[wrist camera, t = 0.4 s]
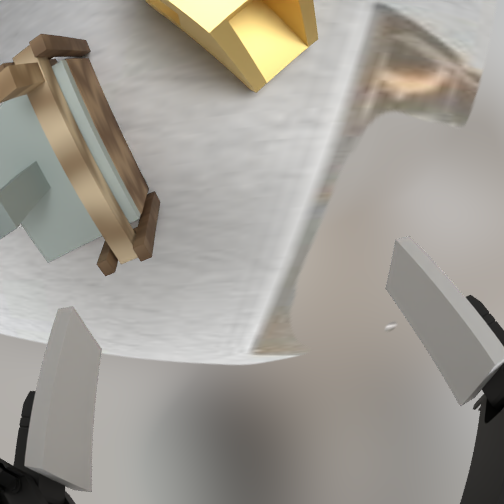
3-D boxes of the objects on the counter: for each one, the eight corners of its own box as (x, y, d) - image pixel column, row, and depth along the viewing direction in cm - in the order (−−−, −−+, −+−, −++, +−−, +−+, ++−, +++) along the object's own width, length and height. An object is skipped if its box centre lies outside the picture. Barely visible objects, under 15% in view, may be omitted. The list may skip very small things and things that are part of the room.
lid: (-23, 129, 20) (-75, 159, 13) (66, 60, 20) (18, 63, 13) (51, 256, 31) (25, 311, 23) (140, 213, 31) (127, 267, 23)
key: (24, 57, 17) (-19, 62, 12) (42, 43, 17) (1, 43, 11) (124, 252, 31) (113, 298, 25) (142, 244, 31) (134, 290, 25)
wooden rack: (0, 101, 25) (-58, 124, 15) (86, 40, 24) (40, 34, 15) (76, 240, 38) (50, 300, 28) (160, 201, 38) (151, 257, 28)
